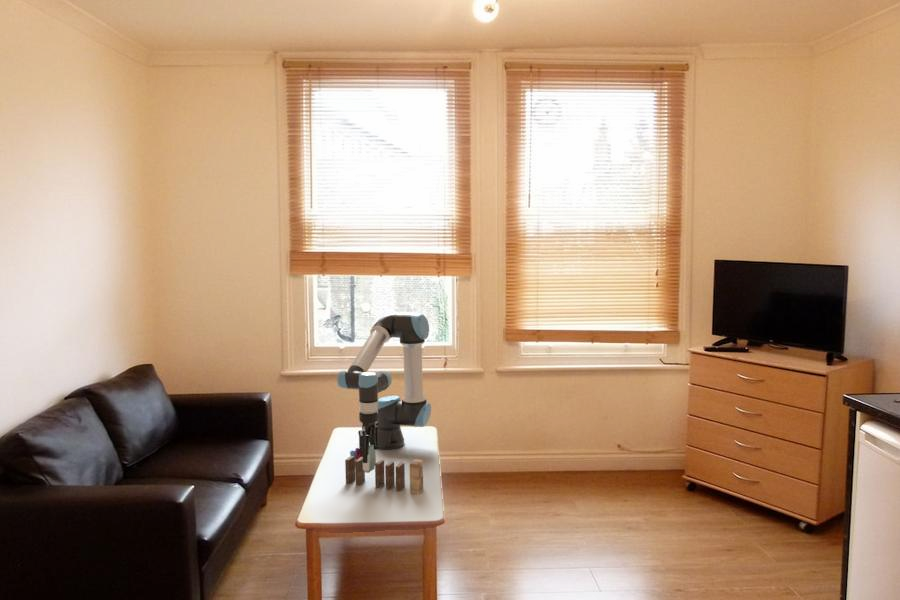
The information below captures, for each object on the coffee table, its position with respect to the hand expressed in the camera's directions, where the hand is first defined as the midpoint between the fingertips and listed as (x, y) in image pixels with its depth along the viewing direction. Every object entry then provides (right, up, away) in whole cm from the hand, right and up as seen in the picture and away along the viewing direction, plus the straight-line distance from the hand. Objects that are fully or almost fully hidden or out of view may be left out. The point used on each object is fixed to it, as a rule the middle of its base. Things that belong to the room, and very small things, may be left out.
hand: (369, 467), depth 248 cm
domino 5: (+13, -7, -4) cm, 15 cm away
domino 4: (+9, -7, -2) cm, 11 cm away
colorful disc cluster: (-8, -5, +24) cm, 25 cm away
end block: (+19, -8, -6) cm, 22 cm away
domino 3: (+4, -7, -1) cm, 8 cm away
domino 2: (-4, -7, +3) cm, 8 cm away
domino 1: (-8, -7, +4) cm, 11 cm away
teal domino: (0, -1, 0) cm, 1 cm away
